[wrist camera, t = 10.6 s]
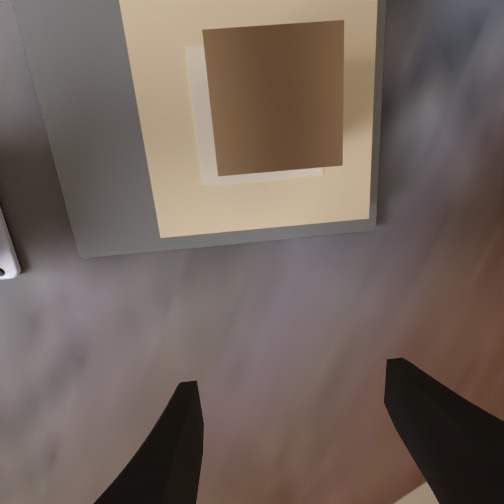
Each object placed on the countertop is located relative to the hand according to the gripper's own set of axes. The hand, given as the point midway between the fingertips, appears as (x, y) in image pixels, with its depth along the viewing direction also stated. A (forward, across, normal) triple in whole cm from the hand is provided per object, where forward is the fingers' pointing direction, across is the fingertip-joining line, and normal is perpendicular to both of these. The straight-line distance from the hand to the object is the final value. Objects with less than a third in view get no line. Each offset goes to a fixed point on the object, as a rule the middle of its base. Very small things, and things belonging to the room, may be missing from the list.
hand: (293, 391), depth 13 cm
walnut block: (+7, 0, -10) cm, 12 cm away
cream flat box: (+10, +2, -10) cm, 15 cm away
